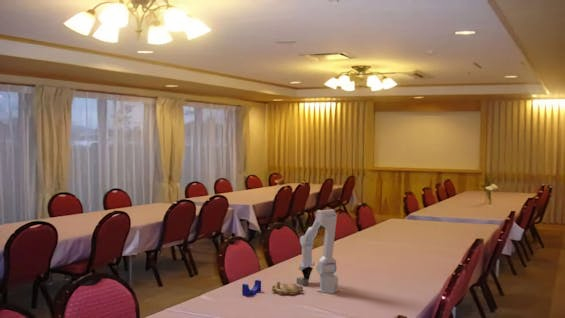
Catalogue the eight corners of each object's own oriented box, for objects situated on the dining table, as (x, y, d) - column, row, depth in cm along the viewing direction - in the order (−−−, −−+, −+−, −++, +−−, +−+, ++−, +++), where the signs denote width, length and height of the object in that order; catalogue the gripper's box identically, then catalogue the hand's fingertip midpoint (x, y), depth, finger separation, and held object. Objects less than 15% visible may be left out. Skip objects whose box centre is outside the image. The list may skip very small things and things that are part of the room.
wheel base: (303, 290, 303) (303, 289, 303) (291, 296, 292) (291, 295, 292) (283, 286, 310) (283, 286, 310) (270, 292, 299) (270, 291, 299)
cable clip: (248, 297, 290) (248, 285, 290) (242, 295, 293) (242, 284, 293) (263, 292, 300) (263, 281, 300) (256, 290, 303) (256, 279, 303)
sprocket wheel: (296, 285, 311) (296, 276, 311) (307, 292, 295) (307, 284, 295) (267, 287, 306) (267, 278, 306) (277, 295, 290) (277, 286, 290)
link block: (308, 285, 314) (308, 279, 314) (302, 286, 312) (302, 280, 311) (302, 283, 319) (302, 276, 319) (296, 284, 317) (296, 277, 316)
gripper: (307, 253, 327) (307, 276, 327) (294, 258, 315) (294, 281, 315) (317, 255, 323) (317, 278, 323) (304, 259, 311) (304, 283, 311)
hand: (306, 280), depth 319 cm, fingers closed
